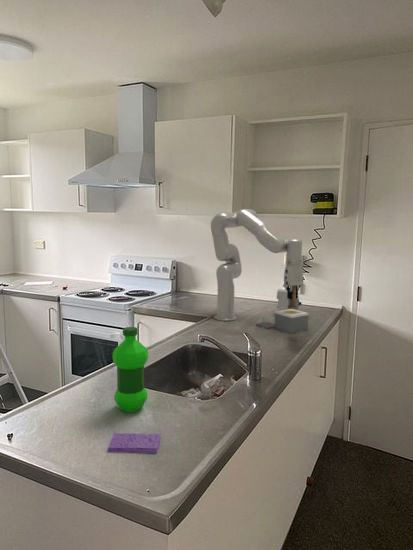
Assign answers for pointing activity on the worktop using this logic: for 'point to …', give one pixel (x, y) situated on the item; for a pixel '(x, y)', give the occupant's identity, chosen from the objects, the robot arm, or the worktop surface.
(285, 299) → the circuit breaker
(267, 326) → the rubber mat
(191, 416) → the worktop surface
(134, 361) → the plastic bottle
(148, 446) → the sponges
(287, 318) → the square socket block
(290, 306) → the wooden pepper mill
